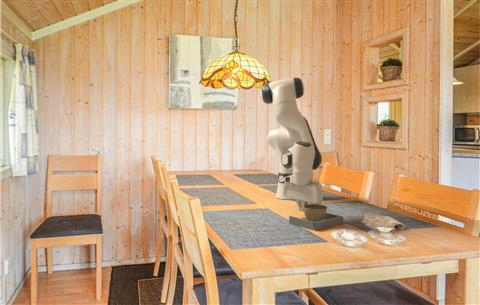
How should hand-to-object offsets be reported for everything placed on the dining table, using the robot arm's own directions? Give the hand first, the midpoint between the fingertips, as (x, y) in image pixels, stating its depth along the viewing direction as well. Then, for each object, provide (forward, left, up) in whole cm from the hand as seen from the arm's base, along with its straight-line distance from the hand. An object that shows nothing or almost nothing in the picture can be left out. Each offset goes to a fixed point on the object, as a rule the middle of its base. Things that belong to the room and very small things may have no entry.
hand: (302, 211), depth 167 cm
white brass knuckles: (-18, +27, -5) cm, 33 cm away
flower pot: (0, +7, -4) cm, 8 cm away
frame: (0, +8, -4) cm, 9 cm away
